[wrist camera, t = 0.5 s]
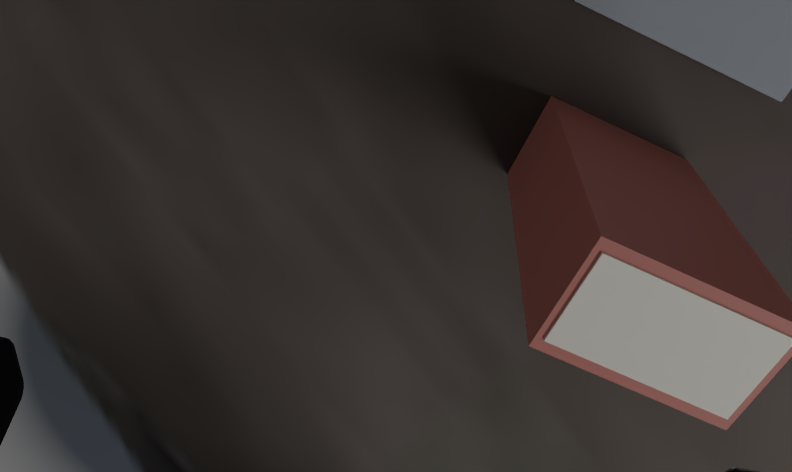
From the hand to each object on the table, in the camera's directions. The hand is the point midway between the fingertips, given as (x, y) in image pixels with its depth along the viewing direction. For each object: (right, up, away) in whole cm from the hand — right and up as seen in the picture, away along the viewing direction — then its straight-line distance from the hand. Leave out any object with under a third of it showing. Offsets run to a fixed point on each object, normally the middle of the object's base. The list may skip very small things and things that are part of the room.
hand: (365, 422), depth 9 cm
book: (+7, +5, +15) cm, 18 cm away
